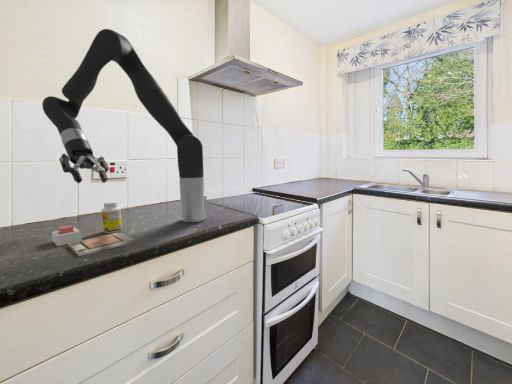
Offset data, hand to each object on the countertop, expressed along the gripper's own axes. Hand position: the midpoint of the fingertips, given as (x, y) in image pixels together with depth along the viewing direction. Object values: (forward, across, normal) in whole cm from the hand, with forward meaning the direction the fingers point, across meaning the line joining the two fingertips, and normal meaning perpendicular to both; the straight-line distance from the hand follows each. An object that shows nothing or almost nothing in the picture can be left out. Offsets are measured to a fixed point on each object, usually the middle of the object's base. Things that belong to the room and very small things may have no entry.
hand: (93, 181), depth 87 cm
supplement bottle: (+19, +2, +3) cm, 19 cm away
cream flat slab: (+24, -8, -4) cm, 26 cm away
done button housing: (+17, -11, +6) cm, 22 cm away
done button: (+16, -11, +5) cm, 20 cm away
